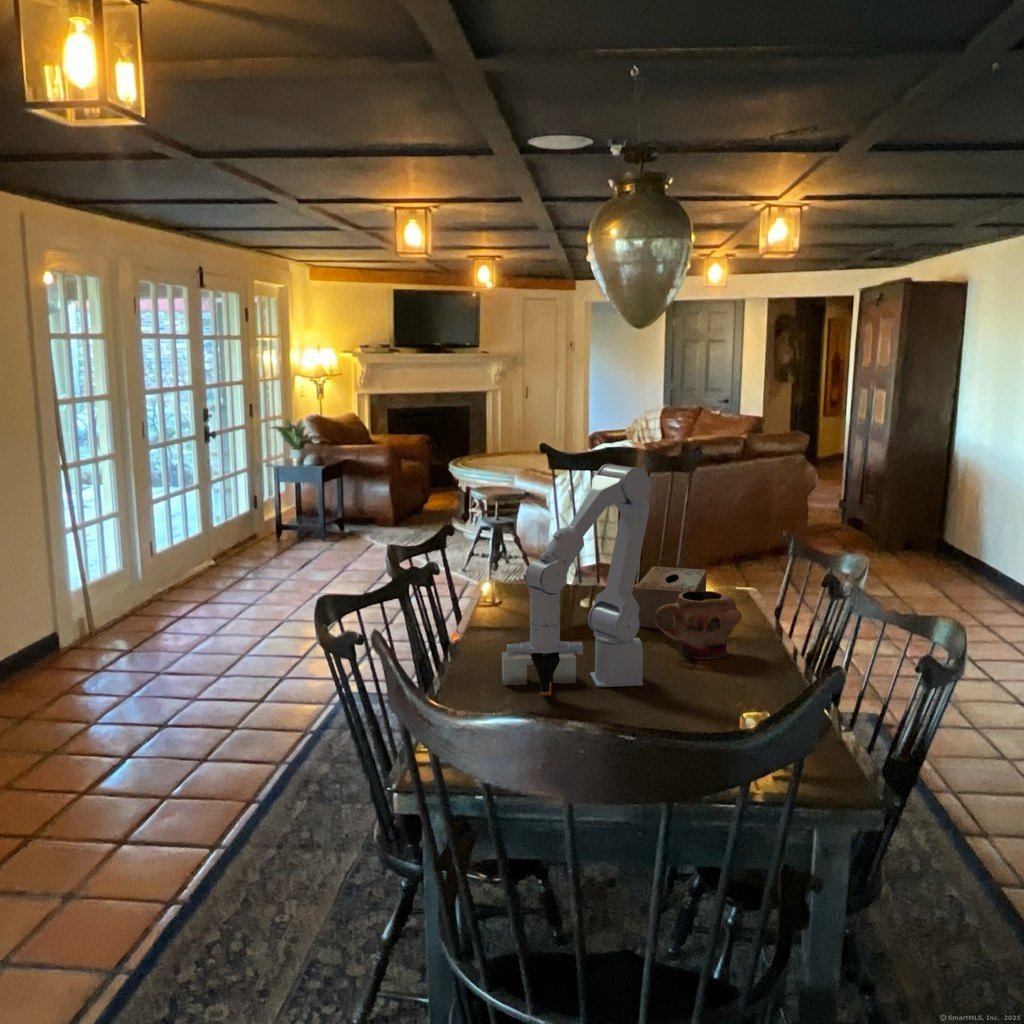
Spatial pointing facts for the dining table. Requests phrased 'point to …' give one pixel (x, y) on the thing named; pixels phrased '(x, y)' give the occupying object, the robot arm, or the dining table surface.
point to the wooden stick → (547, 692)
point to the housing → (517, 665)
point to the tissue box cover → (665, 592)
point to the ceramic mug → (701, 622)
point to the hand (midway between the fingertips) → (544, 690)
